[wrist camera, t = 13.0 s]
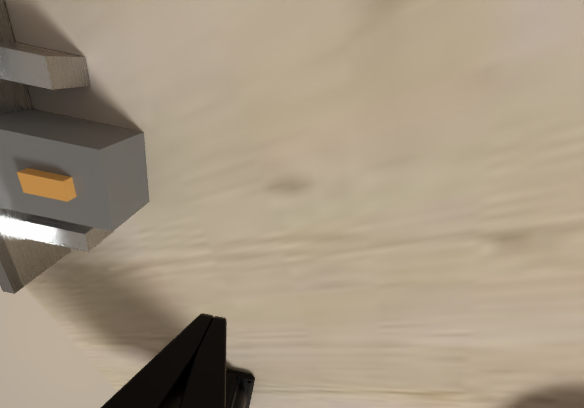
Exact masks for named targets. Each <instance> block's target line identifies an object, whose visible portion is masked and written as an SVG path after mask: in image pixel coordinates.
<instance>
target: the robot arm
mask: <svg viewBox="0 0 584 408" xmlns="http://www.w3.org/2000/svg"><path fill="white" fill-rule="evenodd" d="M254 381H255V377H254V376H252V375H247V374H243V373H238V372H233V371H228V370H226V318H223V317H218V316H215V317H213V316H212V315H208V314H200V315H199V316H198V317H197V318H196V319H195V320H194V321H193V322H191V323H190V324H189V325H188V326H187V327H186V328H185V329H184V330H183V331H182V332H181V333H180V334H179V335H178V336H177V337H176V338H174V339H173V340H172V341H171V342H170V343H169V344H168V345H167V346H166V347H165V348H164V349H163V350H162V351H161V352H160V353H158V354H157V355H156V356H155V357H154V358H153V359H152V360H151V361H150V362H149V363H148V364H147V365H146V366H145V367H144V368H142V369H141V370H140V371H139V372H138V373H137V374H136V375H135V376H134V377H133V378H132V379H131V380H130V381H129V382H128V383H127V384H125V385H124V386H123V387H122V388H121V389H120V390H119V391H118V392H117V393H116V394H115V395H114V396H113V397H112V398H111V399H110V400H108V401H107V402H106V403H105V404H104V405H103V406H102V407H101V408H249V405H250V400H251V395H252V391H253V386H254Z"/></svg>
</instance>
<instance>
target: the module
mask: <svg viewBox="0 0 584 408" xmlns="http://www.w3.org/2000/svg"><path fill="white" fill-rule="evenodd" d="M148 202H149V192H148V179H147V167H146V155H145V142H144V132H140V131H135V130H130V129H126V128H121V127H116V126H111V125H107V124H102V123H97V122H92V121H87V120H83V119H78V118H73V117H68V116H64V115H59V114H54V113H49V112H44V111H40V110H35V109H33V110H27V111H21V112H15V113H9V114H3V115H0V208H4V209H8V210H13V211H18V212H23V213H28V214H32V215H37V216H42V217H47V218H52V219H56V220H61V221H66V222H71V223H76V224H80V225H85V226H90V227H95V228H100V229H104V230H109V231H114V230H115V229H116V228H118V227H119V226H120V225H121V224H122V223H124V222H125V221H126V220H127V219H129V218H130V217H131V216H132V215H134V214H135V213H136V212H137V211H138V210H140V209H141V208H142V207H143V206H145V205H146V204H147V203H148Z"/></svg>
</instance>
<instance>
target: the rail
mask: <svg viewBox="0 0 584 408" xmlns="http://www.w3.org/2000/svg"><path fill="white" fill-rule="evenodd" d="M26 84H28V85H33V86H37V87H42V88H47V89H51V90H54V89H64V88H73V87H83V86H90V84H89V77H88V71H87V65H86V59H85V57H82V56H78V55H73V54H68V53H63V52H59V51H54V50H49V49H45V48H40V47H35V46H30V45H26V44H21V43H16V42H15V40H14V36H13V33H12V29H11V25H10V21H9V17H8V14H7V10H6V6H5V2H4V0H0V115H3V114H9V113H15V112H21V111H27V110H33V108H32V104H31V100H30V97H29V93H28V89H27V85H26ZM112 232H113V231H109V230H104V229H100V228H95V227H90V226H85V225H80V224H76V223H71V222H66V221H61V220H56V219H52V218H47V217H42V216H37V215H32V214H28V213H23V212H18V211H13V210H8V209H4V208H0V286H1V288H2V290H3V291H4V292H9V293H14V294H15V293H16V292H17V291H19V290H20V289H21V288H23V287H24V286H25V285H27V284H28V283H29V282H31V281H32V280H33V279H35V278H36V277H37V276H39V275H40V274H41V273H42V272H44V271H45V270H46V269H48V268H49V267H50V266H52V265H53V264H54V263H56V262H57V261H58V260H60V259H61V258H62V257H64V256H65V255H66V254H68V253H69V252H70V248H73V249H78V250H83V251H87V252H89V251H90V250H92V249H93V248H94V247H95V246H96V245H98V244H99V243H100V242H101V241H103V240H104V239H105V238H106V237H108V236H109V235H110V234H111V233H112Z"/></svg>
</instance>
